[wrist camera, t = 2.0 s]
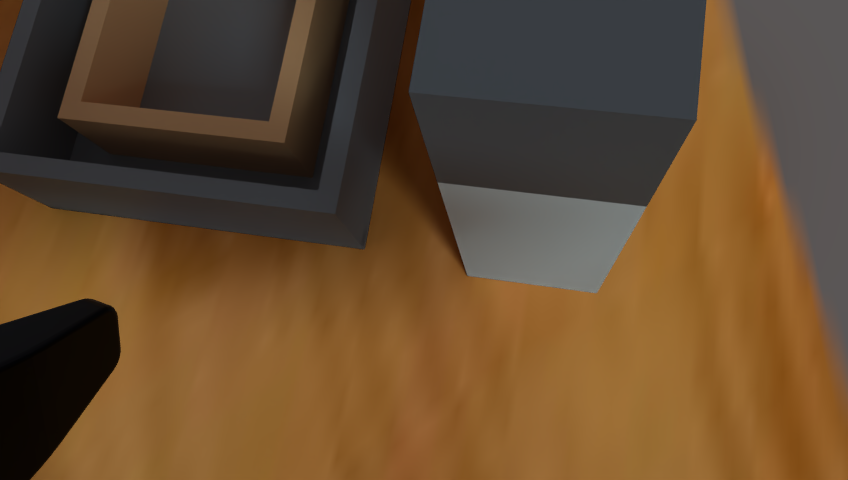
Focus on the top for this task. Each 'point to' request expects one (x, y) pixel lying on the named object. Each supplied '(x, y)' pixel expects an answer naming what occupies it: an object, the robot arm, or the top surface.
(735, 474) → the top surface
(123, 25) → the walled box
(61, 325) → the robot arm
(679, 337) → the top surface
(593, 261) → the plug
